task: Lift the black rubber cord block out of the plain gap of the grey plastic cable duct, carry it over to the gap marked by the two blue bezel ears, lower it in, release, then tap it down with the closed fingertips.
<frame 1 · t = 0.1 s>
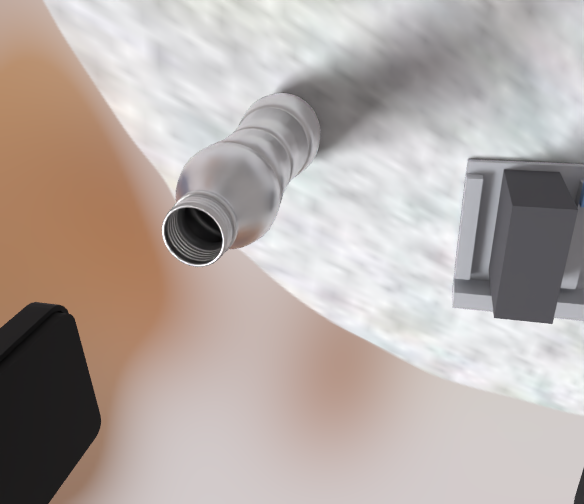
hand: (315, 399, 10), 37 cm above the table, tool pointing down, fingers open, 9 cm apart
cord block: (522, 224, 45), point 1 cm above the table, touching duct
duct: (576, 236, 45), on the table
plastic bottle: (287, 127, 46), on the table
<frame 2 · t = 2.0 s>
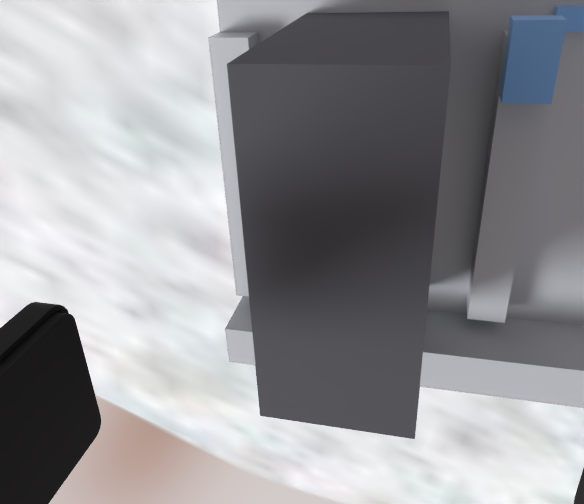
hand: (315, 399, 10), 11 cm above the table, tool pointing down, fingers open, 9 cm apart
cord block: (370, 163, 18), point 1 cm above the table, touching duct
duct: (505, 192, 18), on the table
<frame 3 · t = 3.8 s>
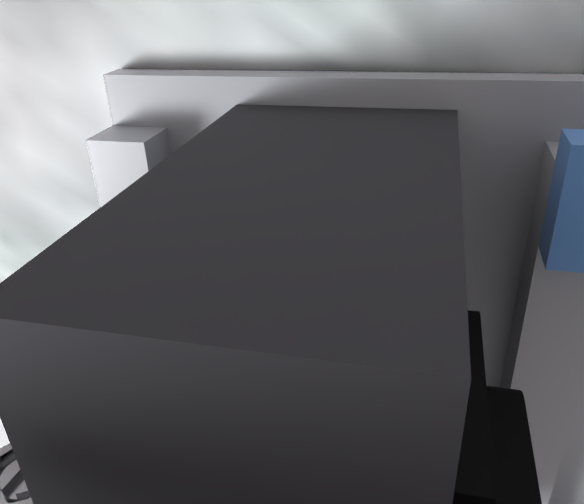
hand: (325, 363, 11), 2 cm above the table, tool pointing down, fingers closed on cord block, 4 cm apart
cord block: (340, 313, 12), point 1 cm above the table, touching duct, gripper
duct: (539, 357, 12), on the table
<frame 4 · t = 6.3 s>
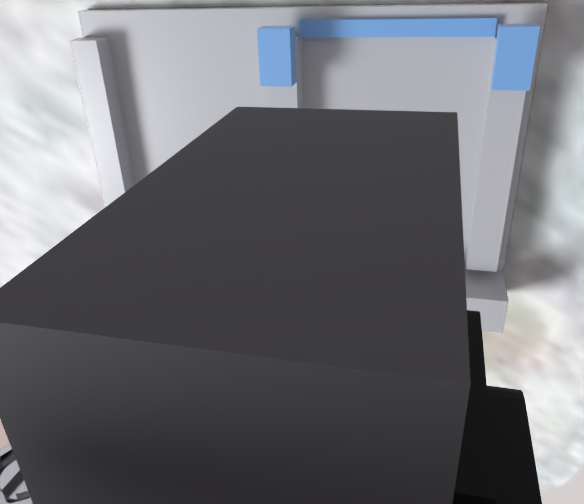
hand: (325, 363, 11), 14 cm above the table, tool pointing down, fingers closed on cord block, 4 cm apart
cord block: (340, 315, 12), point 13 cm above the table, touching gripper
duct: (298, 156, 24), on the table
when the fingers open (3 cm above the table, at t = 8.9 s): cord block stays where it is, resting on duct.
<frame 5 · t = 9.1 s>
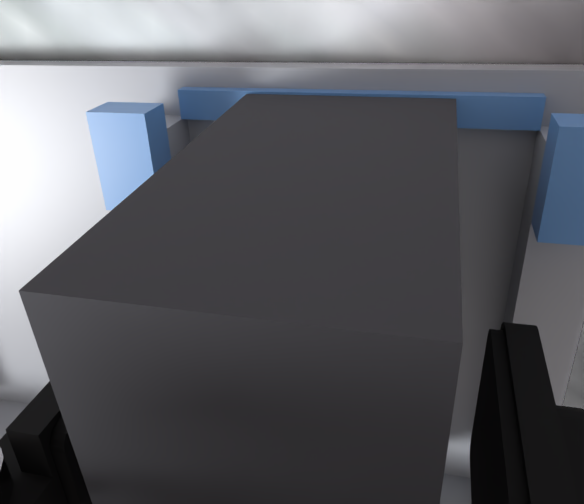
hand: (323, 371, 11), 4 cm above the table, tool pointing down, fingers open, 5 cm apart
cord block: (345, 292, 13), point 1 cm above the table, touching duct
duct: (205, 295, 15), on the table
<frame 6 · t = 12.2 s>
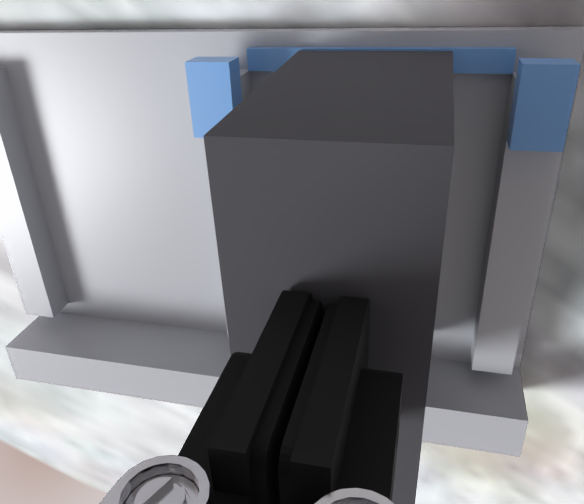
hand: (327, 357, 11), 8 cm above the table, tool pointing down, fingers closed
cord block: (368, 206, 17), point 1 cm above the table, touching duct, gripper
duct: (255, 218, 19), on the table
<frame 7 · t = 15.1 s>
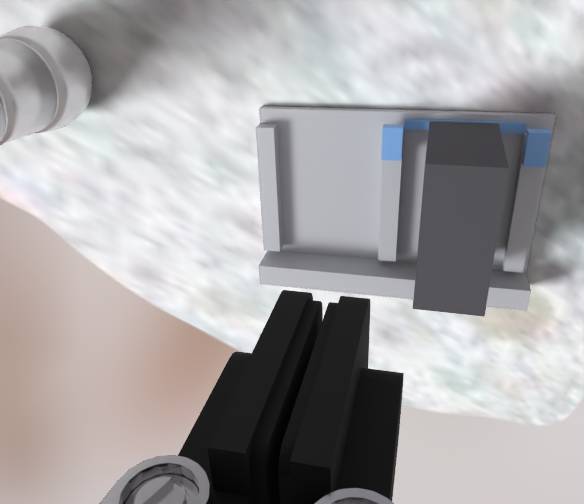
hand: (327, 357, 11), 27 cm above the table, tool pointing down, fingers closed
cord block: (455, 191, 36), point 1 cm above the table, touching duct
duct: (394, 198, 38), on the table
plastic bottle: (64, 71, 40), on the table
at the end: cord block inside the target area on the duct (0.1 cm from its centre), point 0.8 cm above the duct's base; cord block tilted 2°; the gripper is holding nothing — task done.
